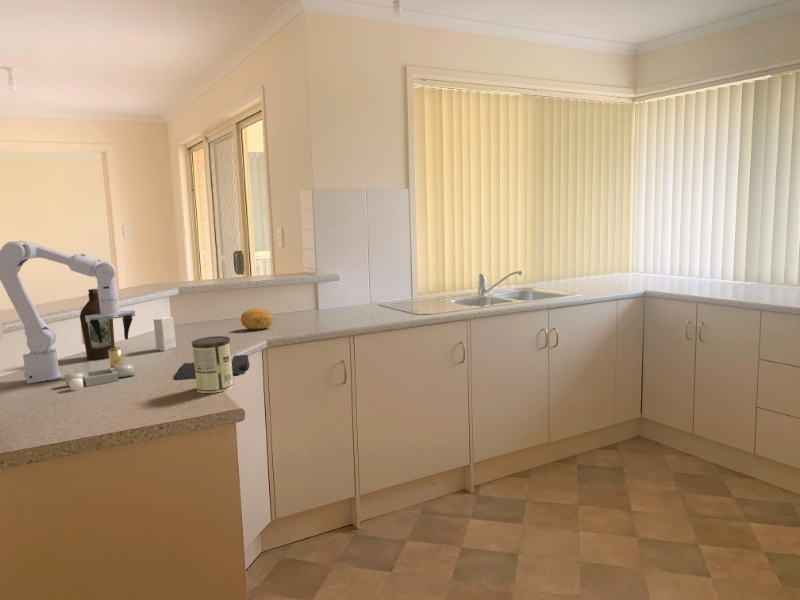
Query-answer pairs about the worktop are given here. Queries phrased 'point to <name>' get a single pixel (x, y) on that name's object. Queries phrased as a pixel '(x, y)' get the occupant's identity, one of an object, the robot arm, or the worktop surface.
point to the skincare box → (164, 333)
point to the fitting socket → (102, 375)
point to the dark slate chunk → (238, 367)
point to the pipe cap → (76, 384)
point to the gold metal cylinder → (115, 357)
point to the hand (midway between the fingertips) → (113, 340)
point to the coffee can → (213, 364)
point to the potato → (256, 319)
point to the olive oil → (90, 337)
